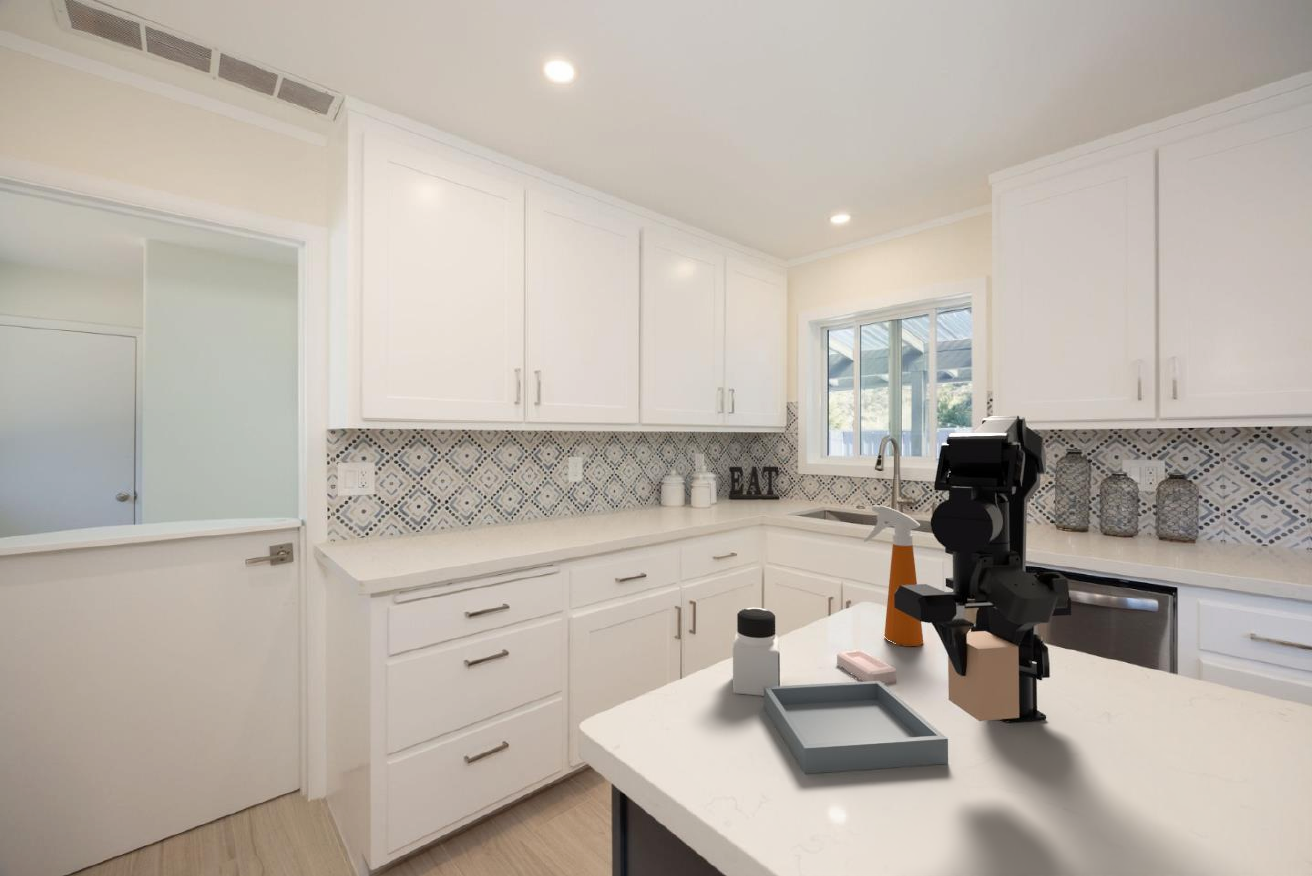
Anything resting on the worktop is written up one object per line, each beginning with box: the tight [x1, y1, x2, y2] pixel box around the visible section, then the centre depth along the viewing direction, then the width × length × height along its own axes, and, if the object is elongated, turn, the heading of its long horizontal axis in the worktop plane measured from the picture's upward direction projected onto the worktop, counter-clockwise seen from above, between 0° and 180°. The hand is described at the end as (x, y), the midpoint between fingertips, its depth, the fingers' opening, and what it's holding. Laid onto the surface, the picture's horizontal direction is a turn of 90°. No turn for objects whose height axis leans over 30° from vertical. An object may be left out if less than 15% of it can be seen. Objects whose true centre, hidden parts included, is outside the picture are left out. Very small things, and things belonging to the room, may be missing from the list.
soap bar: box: [836, 649, 897, 684], centre depth 91 cm, size 5×9×2 cm, turn 18°
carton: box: [947, 631, 1019, 722], centre depth 63 cm, size 5×5×8 cm
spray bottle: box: [863, 504, 924, 647], centre depth 107 cm, size 7×11×26 cm, turn 55°
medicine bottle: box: [732, 607, 781, 697], centre depth 86 cm, size 7×7×12 cm
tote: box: [763, 681, 949, 775], centre depth 72 cm, size 18×16×3 cm
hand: (981, 673), depth 63 cm, fingers closed on carton, 5 cm apart
